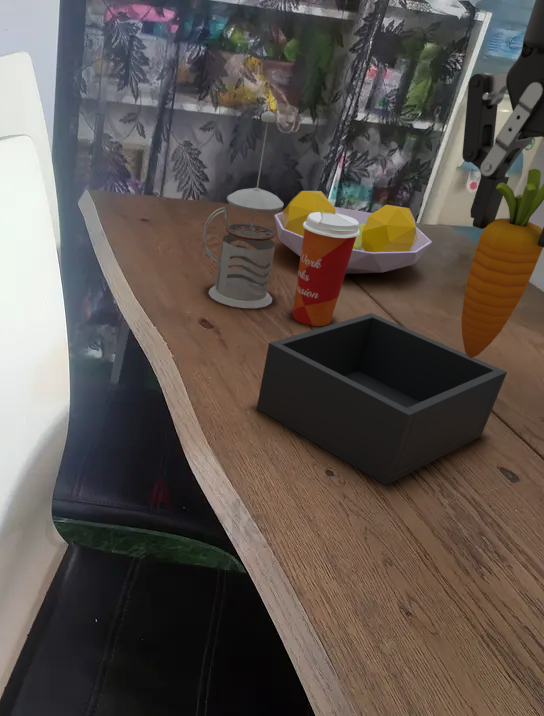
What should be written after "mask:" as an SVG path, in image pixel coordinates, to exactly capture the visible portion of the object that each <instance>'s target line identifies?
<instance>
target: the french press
mask: <svg viewBox="0 0 544 716" xmlns="http://www.w3.org/2000/svg"><path fill="white" fill-rule="evenodd" d="M261 121H262V122H264V123H266V125H265V131H264V138H263V144H262V151H261V156H260V157H261V158H260V163H259V171H258V175H257V183H256V187H253V188H252V187H251V188H243V189H239V190H235V191H234V192H232V193H230V194H229V195H227V197H226V200H227V201H226V202H227V203H228V204H229V205H230V206H233V207H235V208H237V209H242V210H246V211H251V212H252V214H251V221H250V222H236V223H231V224H228V225H227V226H226V227H225V230H226V232H227V234H224V235H223V237H222V244H221V249H220V257H219V256H216V255H215V254H213V253H212V252H211V251H210V249H209V248H208V245H207V241H206V237H207V231H208V229H209V226H210V224H211V222H212V221H213V219H214V220H215V218H216V217H217V216H218V215H220V214H222V213H223V214H224V220H225V221H227V220H228V217H229V216H228V215H229V212H228V209H227V207H224V206H222V207H220V208H218V209H215V210H214V211H213V212H212V213H211V214H210V215H209V216H208V218H207V219H206V221H205V224H204V226H203V231H202V232H203V233H202V241H203V246H204V250H205V252H206V254H207V255H208V256H209V258H210V259H211V260H213V261H214V262H216V263H217V268H216V276H215V283H214V285H213V286H212V287H210V289H209V291H208V295H209V297H210V298H211V299H213V300H214V301H216V302H218V303H220V304H223V305H226V306H230V307H234V308H240V309H260V308H266V307H267V306H269V305H270V304H272V302H273V297H272V296H271V295H270V294H269V292H268V288H269V283H270V278H271V277H270V276H271V272H272V271H271V270H272V267H273V266H272V265H273V260H274V254H275V249H276V243H275V242H274V240H272V239H274V238H275V236H276V231H274V230H273V229H271V227H267V226H264V225H261V224H256V223H253V222H254V218H255V217H254V215H255V212H261V213H262V212H263V213H271V212H272V213H274V212H279V211H281V210H282V209H283V207H284V202H283V201H282V200H281V199H280V198H279V197H278V196H277V195H275V194H274V193H272V192H270V191H268V190H265V189H261V188H260V187H259V184H260V178H261V171H262V165H263V159H264V152H265V146H266V140H267V133H268V127H269V123H275V122H276V114H275V112H273V111H271V110H270V111H269V110H268V111H264V112H263V113H262V115H261ZM236 241H240V242H245V243H246V244H248V245H249V246H251V247H252V248H254V249H250V248H248V247H247V246H245V245H242V244H235V245H232V244H231V243H232V242H236ZM236 258H237V259H236ZM234 259H235V260H234ZM232 267H237V268H232ZM240 268H242V269H240Z"/></svg>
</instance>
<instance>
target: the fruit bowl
mask: <svg viewBox="0 0 544 716" xmlns="http://www.w3.org/2000/svg"><path fill="white" fill-rule="evenodd" d="M314 212H320V213H324V212H327V213H332V214H335V213H337V214H342V215H346V216H349V217H352V218H354V219H356V220H357V221H358V223H359V227H358V229H359V232H360V234H359V235H358V236H356V240H355V243H354V246H353V250H352V253H351V256H350V260H349V263H348V266H347V270H346V273H345V275H350V274H351V275H354V274H356V275H357V274H381V273H385V272H390V271H394V270H398V269H402V268H405V267H408V266H409V267H410V266H413V265H415V264H416V263H417V262H418V260H419V259H420V258H421V257H422V255H424V253H425V251H426V250H427V249H428V248H429V246H431V244H432V243H433V241H432V240H431V239H430V238H428V236H427V235H426V234H425V233H423V232H422V231H421V230H420V228H418V227H417V225H416V219H415V217H414V215H413V213H412V211H411V209H410V207H403V206H399V205H398V206H397V205H391V204H385V205H383V206H382V207H380V208H379V209H377V210H375V211H374V212H367V211H361V210H355V209H349V208H344V207H338V206H334V205H333V204H332V203H331V201H330V200H329V199H328V198H327V196H326V195H325V194H324V193H323V191H322V190H301V191H300V192H298V193H297V194H296V195H295V196H294V197H293V198H292V199H291V200H290V202H289V203H288V204H287V205H286V207H285V208H284V210H282V211H280V212H278V213H276V214H274V221H275V225H276V226H275V227H276V230H277V236H278V241H280V242H281V243H282V244H283V245H285V246H286V247H287V248H288V249H290V250H291V251H293V253H295V254H296V255H297V256H299V257H301V250H302V243H303V237H304V230H305V228H304V227H303V223H304V222H305V221H306V220H307V217H308V215H309V214H310V213H314ZM321 215H322V214H321Z"/></svg>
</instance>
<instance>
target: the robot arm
mask: <svg viewBox="0 0 544 716" xmlns="http://www.w3.org/2000/svg"><path fill="white" fill-rule="evenodd" d="M522 40H523V41H522V47H521V52H520V54H519V55H518V57H517V59H516V61H515V62H514V63H513V64H512V65H511V67H510V68H509V70H508V71H505V72H498V73H497V72H496V73H495V72H481V73H475V74H473V75H472V76H471V77H470V79H469V81H468V86H467V97H466V98H467V99H466V107H465V108H466V109H465V119H464V130H463V131H464V132H463V142H462V144H463V145H462V153H461V154H462V155H461V156H462V160H463V161H464V162H465V163H472V164H473V165H474V166H475V167H476V168H477V169H478V170H479V173H480V179H479V183H478V185H477V188H476V193H475V195H474V197H473V202H472V204H471V208H470V218H472V219H473V221H472V227H474V228H477V229H481V230H484V229H485V228H486V226H487V225H488V224H489V223H490V222H492V221H494V220H496V219H497V218H496V217H497V216H498V212H499V210H500V206H501V204H502V200H503V198H504V196H503V195H502V194H501V193H500V192H499V191H498V190H497V189H496V187H497V185H498V184H500V183H505V184H506V185H508V182H509V179H510V176H506V175H507V172H508V171H509V170H510V169H511V167H512V166H513V164H514V163H515V162H516V160H517V159H518V157H519V156H520V155H521V153H522V152H523V150H524V149H526V148H527V147H529V145H530V144H531V143H532V141H533V140H534V139H535V138H544V0H534V4H533V6H532V10H531V13H530V17H529V20H528V23H527V26H526V28H525V32H524V35H523V39H522ZM506 92H507V94H508V97H509V101H510V105H511V110H512V112H511V114H510V115H509V117H508V118H507V120H506V122H505V123H504V124H503V126H502V127H501V129H500V130H499V132H498V134H497V135H495V134H496V125H497V115H498V107H499V104H501V102H503V100H504V97H505V94H506ZM542 229H543V230H542V233H541V235H540V238H539V241H538V246H540V247H543V248H544V226H543V227H542Z"/></svg>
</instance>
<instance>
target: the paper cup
mask: <svg viewBox="0 0 544 716" xmlns="http://www.w3.org/2000/svg"><path fill="white" fill-rule="evenodd" d="M321 214H322V215H321ZM303 227H304V228H305V230H304V237H303V243H302V250H301V257H300V256H299V257H300V259H299V264H298V271H297V277H296V278H297V279H296V284H295V285H296V286H295V291H294V292H295V293H294V299H293V300H294V301H293V307H292V318H293V319H294V320H295V321H296V322H299V323H300V324H304V325H307V326H313V327H325V326H328V325H330V323H331V321H332V318H333V315H334V313H335V309H336V305H337V302H338V298H339V296H340V293H341V289H342V286H343V284H344V283H343V282H344V280H345V276H346V274H345V273H346V270H347V266H348V263H349V260H350V256H351V253H352V250H353V246H354V243H355V240H356V236H358V235H359V234H360V232H359V229H358V227H359V223H358V221H357V220H356V219H354V218H352V217H349V216H346V215H342V214H337V213H335V214H332V213H327V212H324V213H320V212H314V213H310V214H309V215H308V217H307V220H306V221H305V222H304V223H303Z"/></svg>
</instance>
